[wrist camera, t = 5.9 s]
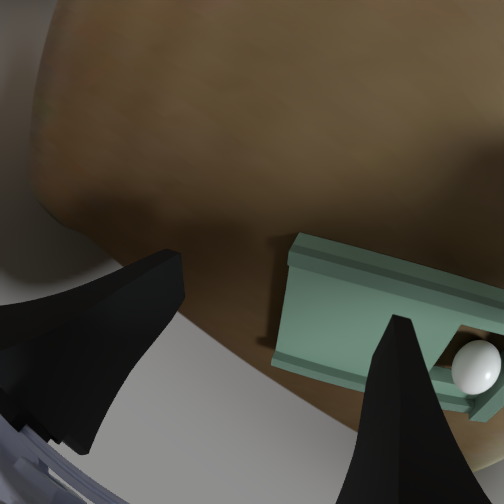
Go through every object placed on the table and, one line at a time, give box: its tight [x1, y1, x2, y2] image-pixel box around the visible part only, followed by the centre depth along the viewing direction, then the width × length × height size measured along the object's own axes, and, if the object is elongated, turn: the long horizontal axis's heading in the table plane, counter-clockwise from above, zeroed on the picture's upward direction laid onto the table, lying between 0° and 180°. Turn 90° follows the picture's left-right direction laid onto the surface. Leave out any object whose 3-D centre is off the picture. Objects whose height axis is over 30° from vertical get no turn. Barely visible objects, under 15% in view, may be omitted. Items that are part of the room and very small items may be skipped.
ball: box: [452, 340, 501, 395], centre depth 17 cm, size 4×4×4 cm
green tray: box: [271, 232, 504, 422], centre depth 19 cm, size 20×11×3 cm, turn 87°
